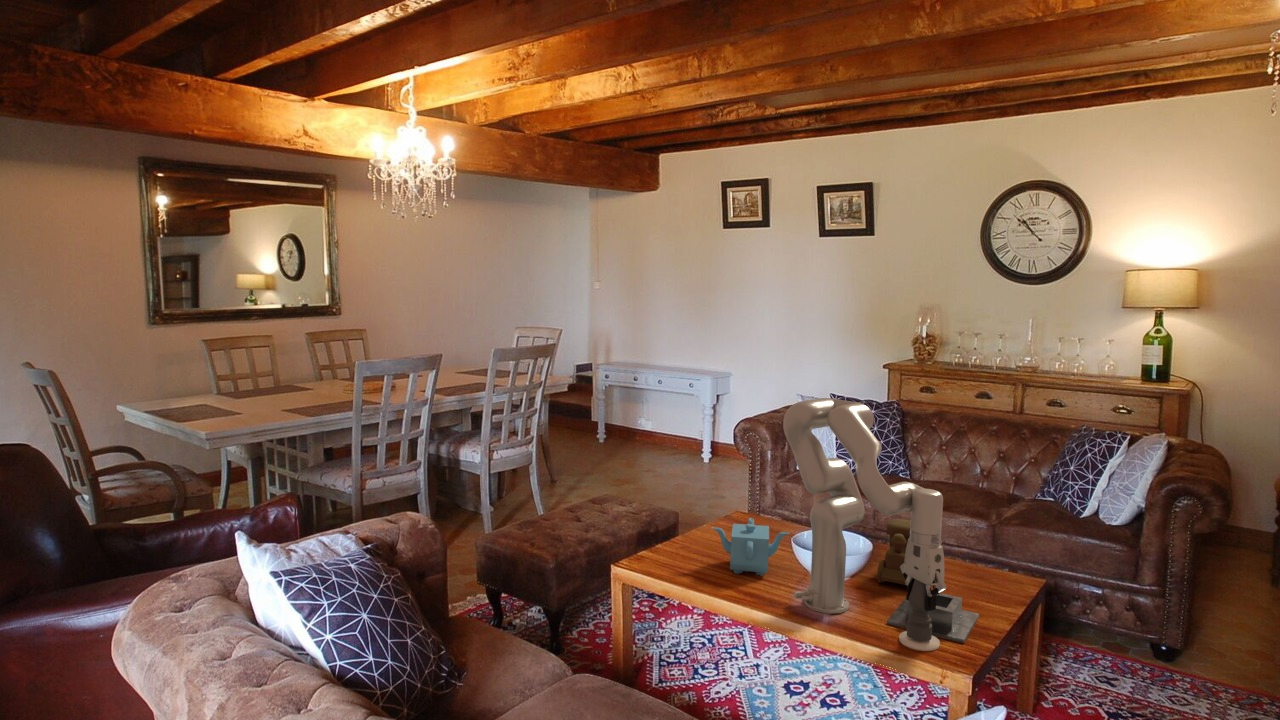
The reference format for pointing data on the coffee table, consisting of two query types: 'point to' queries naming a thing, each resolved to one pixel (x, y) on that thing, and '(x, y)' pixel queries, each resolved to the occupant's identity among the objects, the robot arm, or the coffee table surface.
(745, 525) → the teakettle
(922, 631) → the candle holder
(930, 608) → the robot arm
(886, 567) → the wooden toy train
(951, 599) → the socket
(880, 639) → the coffee table surface
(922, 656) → the coffee table surface
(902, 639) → the coaster
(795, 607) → the coffee table surface
